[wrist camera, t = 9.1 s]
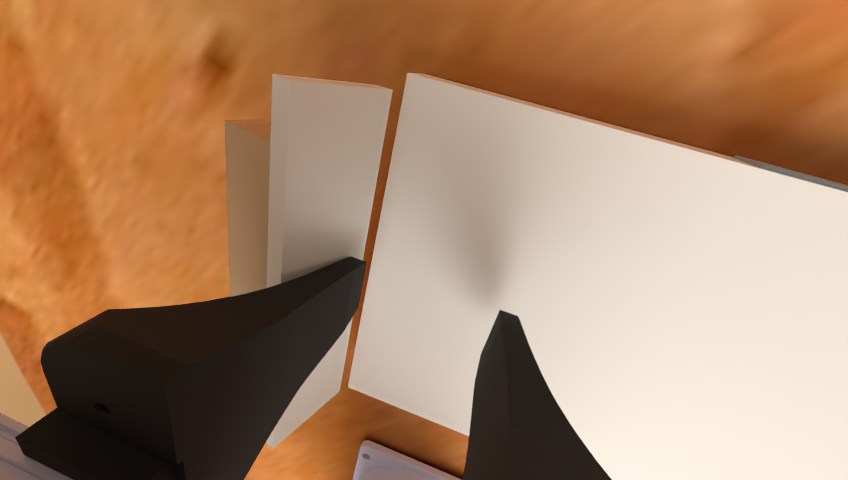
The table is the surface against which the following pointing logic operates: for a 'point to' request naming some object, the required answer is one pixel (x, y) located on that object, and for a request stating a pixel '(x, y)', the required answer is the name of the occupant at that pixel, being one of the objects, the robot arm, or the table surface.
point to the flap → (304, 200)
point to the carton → (612, 287)
